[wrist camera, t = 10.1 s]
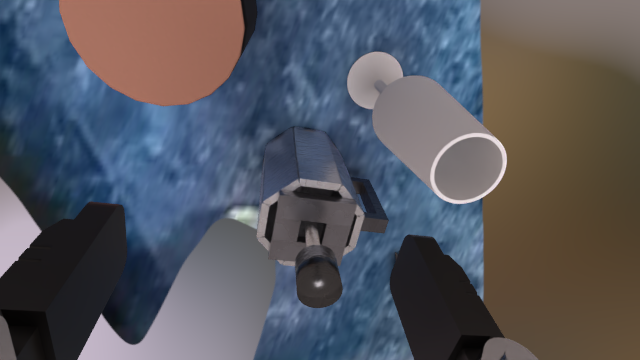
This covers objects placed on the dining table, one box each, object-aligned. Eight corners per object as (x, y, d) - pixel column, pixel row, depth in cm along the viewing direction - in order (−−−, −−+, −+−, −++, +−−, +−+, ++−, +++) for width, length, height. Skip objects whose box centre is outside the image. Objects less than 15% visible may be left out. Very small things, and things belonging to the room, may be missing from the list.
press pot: (268, 121, 44) (265, 178, 31) (371, 138, 47) (408, 197, 34) (258, 192, 49) (251, 269, 35) (352, 204, 51) (379, 280, 38)
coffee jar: (164, -76, 35) (70, -130, 19) (272, -24, 38) (269, -32, 22) (140, 36, 39) (45, 69, 23) (239, 75, 42) (216, 130, 26)
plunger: (278, 147, 42) (279, 247, 25) (340, 156, 43) (378, 257, 27) (269, 202, 45) (264, 322, 29) (327, 209, 46) (354, 328, 30)
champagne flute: (342, 106, 45) (402, 213, 23) (352, 47, 42) (431, 110, 20) (396, 112, 46) (499, 220, 24) (409, 55, 43) (540, 122, 21)
